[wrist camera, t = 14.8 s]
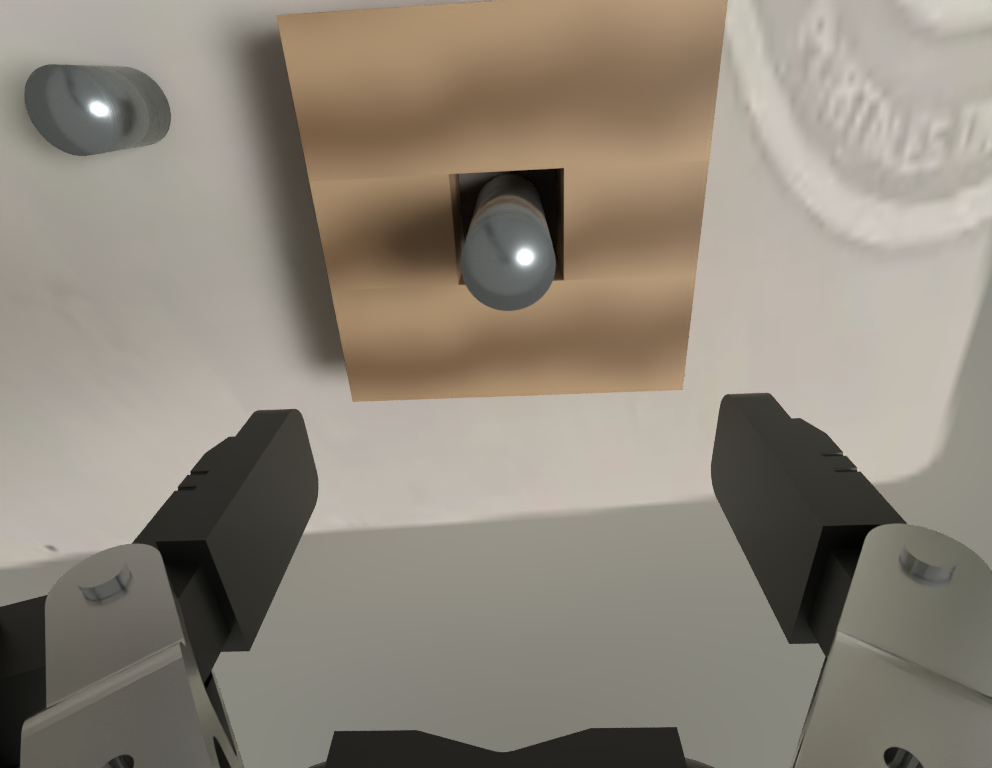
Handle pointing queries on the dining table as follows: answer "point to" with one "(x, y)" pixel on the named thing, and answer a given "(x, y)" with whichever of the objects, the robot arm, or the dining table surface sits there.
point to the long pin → (508, 246)
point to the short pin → (96, 108)
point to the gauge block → (509, 147)
